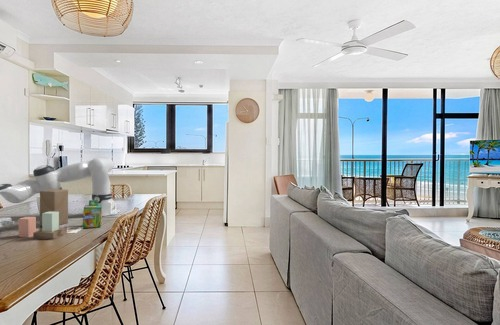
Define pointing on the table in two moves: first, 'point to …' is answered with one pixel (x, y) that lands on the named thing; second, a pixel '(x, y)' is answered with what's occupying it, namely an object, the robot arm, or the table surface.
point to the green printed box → (92, 215)
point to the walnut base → (50, 234)
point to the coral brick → (27, 226)
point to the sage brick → (50, 221)
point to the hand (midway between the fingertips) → (5, 225)
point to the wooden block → (54, 204)
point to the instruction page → (73, 229)
